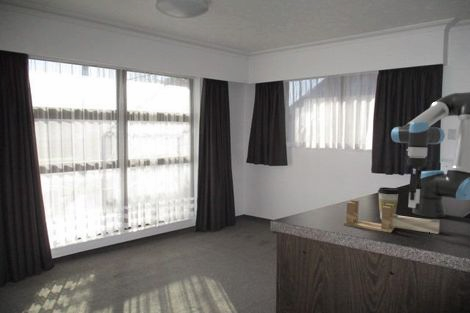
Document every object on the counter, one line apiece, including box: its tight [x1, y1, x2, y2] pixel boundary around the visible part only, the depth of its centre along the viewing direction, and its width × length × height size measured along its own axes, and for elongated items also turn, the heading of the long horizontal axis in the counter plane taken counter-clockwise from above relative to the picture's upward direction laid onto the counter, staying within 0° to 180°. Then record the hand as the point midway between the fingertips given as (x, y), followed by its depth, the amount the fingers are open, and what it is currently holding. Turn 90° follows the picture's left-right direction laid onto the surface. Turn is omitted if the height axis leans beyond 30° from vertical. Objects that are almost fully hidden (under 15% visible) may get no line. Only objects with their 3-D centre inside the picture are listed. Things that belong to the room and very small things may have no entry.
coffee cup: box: [377, 186, 400, 220], centre depth 179 cm, size 10×10×15 cm
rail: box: [392, 213, 441, 235], centre depth 162 cm, size 4×20×5 cm, turn 57°
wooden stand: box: [343, 199, 396, 233], centre depth 164 cm, size 9×20×10 cm, turn 57°
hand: (413, 205), depth 161 cm, fingers open, 13 cm apart
